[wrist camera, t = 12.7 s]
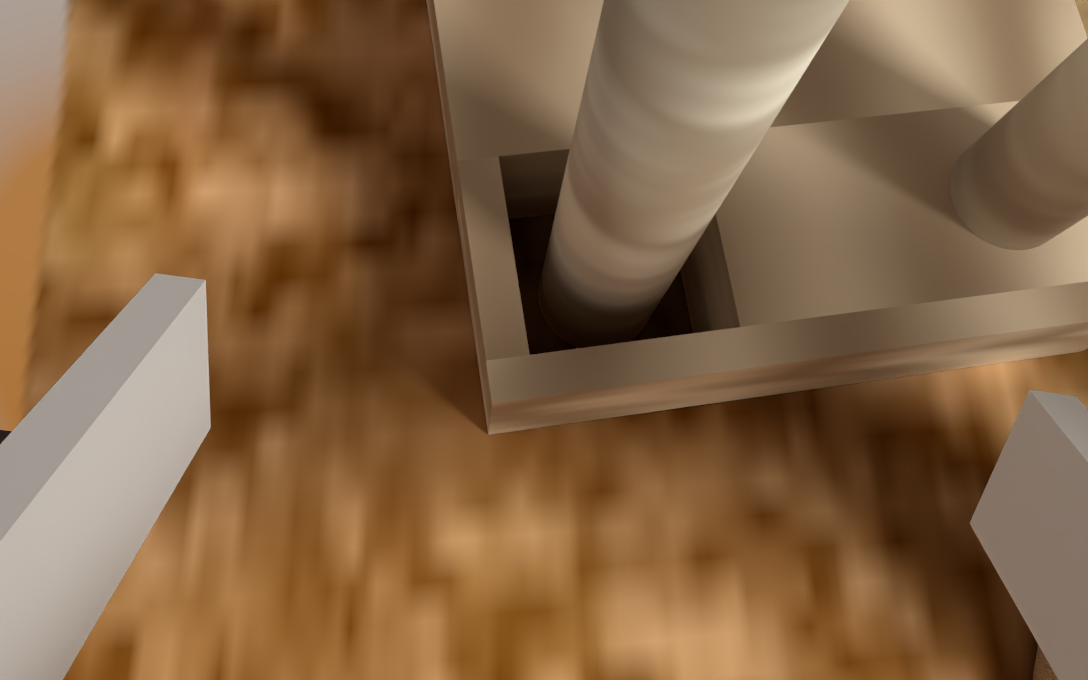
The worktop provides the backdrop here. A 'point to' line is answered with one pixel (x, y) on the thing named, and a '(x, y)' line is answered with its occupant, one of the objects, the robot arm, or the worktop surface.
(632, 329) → the stool leg
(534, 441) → the worktop surface
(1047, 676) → the candle holder
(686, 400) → the stool
